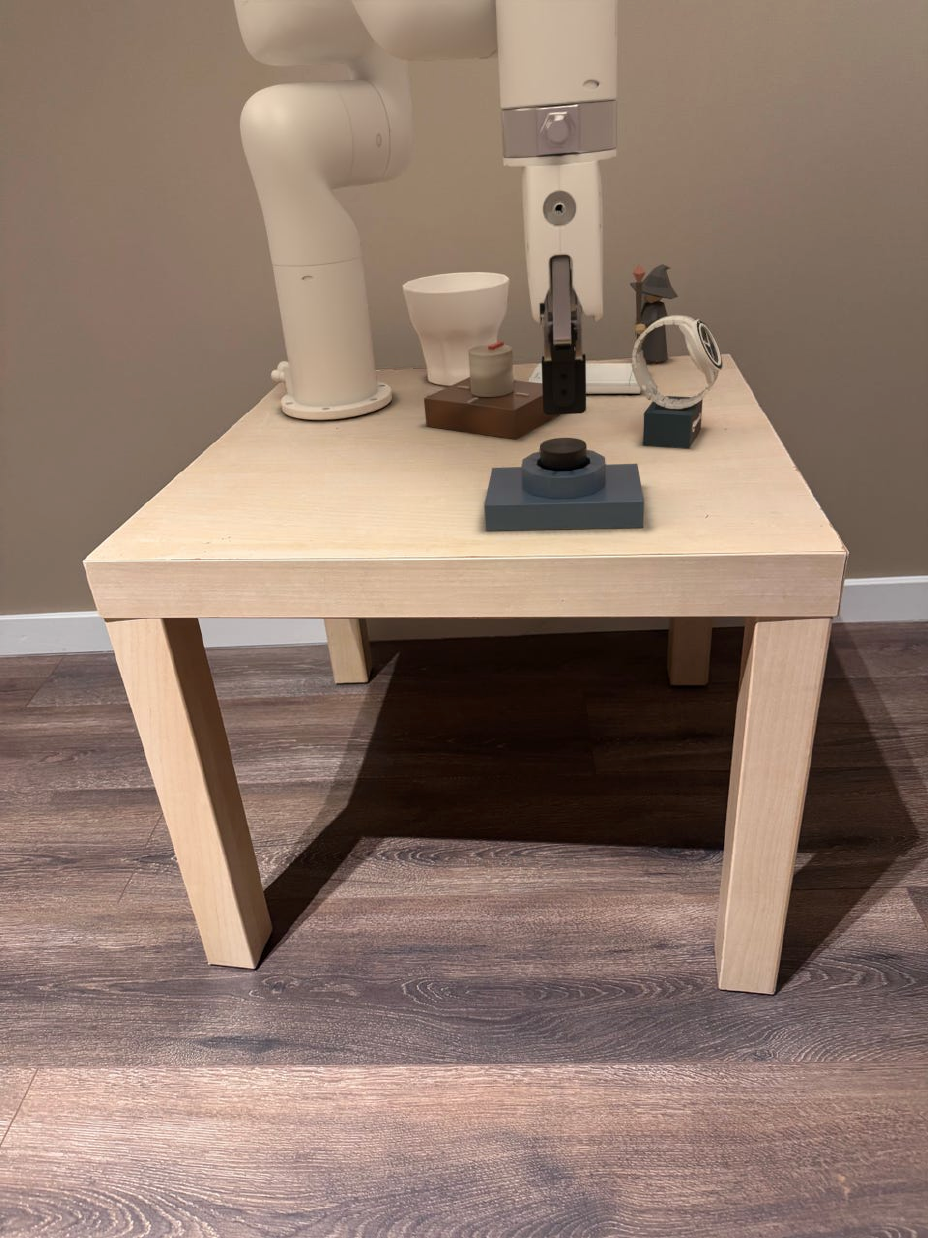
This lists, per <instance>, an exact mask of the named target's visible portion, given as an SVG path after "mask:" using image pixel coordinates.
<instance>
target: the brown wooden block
mask: <svg viewBox="0 0 928 1238" xmlns="http://www.w3.org/2000/svg"><path fill="white" fill-rule="evenodd" d="M513 380H514V391H513V392H512V393H510V394H507V395H503V396H498V397H479V396H475V395H473V394H472V393H471V383H470V377H469V378H467V379H464V380H462V381H460V382H458V383H456V384H453V385H451V386H446V387H445V388H442V389H441V390H438V391H436V392H433V393H432V394H430V395H427V396H425V397H423V402H424V414H425V416H424V417H425V425H426V427H429V428H434V429H435V428H436V429H443V430H450V431H456V432H461V433H462V432H463V433H467V434H468V433H469V434H476V435H483V436H488V437H496V438H503V439H509V440H518V439H520V438H522V437H523V436H525V435H527V434H529V433H530V432H532V431H534V430H536V429H538V428H539V427H541V426H542V425H544V424H546V423H547V422H550V421H551V420H553V419H554V418H556V417H558V416H560V415H561V414H557V415H547V414H545V413H544V412H543V390H542V383H535V382H528V381H524V380H517V379H515V378H513Z"/></svg>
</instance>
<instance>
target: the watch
mask: <svg viewBox="0 0 928 1238" xmlns="http://www.w3.org/2000/svg"><path fill="white" fill-rule="evenodd" d="M663 325H665V326H671V325H675V326H678V328H679V330H680V332H681V333H682V334H683V336H684V343H685V345H686V349H687V352H688V354H689V356H690V358H691V360H692V362H693V364H694V365H695V366H696V368H697V369H698V370H699V371H700V372H701V373H702V374H704V377H705V380H706V383H707V384H708V385H707V386H705V389H704V390H701V392H698V394H697V395H694V396H678V395H677V396H673V395H664V394H661V392H660V391H658V388H659V387H658V385H657V384H656V382H655V380H654V379H653V377H652V375H651V373H650V370H649V368H648V366H647V365H648V364H646V362H645V359H644V357H643V350H641V346H642V343H643V340H644V338H645V336H646V335H647V334H648V333H649V332H650V331H651V330H653V329H654V328H657V327H659V326H663ZM631 358H632V359H631V362H630V363H631V365H632V369H633V372H634V375H635V378H636V381H637V383H638V385H639V387H640V389H641V393H643V396H644V397H645V398H646V399H647V400H648V401H652V402H651V403H650V404H649V405H648V407H647V408H646V409H645V411H644V412H643V427H642V428H643V429H642V431H643V432H642V446H645V447H660V448H661V447H662V448H675V449H676V448H677V449H687V450H688V449H691V447H692V445H694V442H695V440H696V438H697V437H698V435H699V433H700V431H702V418H703V417H702V416H703V415H702V414H703V401H704V399H705V397H706V396H707V395H708V393H709V392H710V391H711V389H712V387H713V386H714V385H715V382H716V381H717V379H718V376H719V373H720V371H721V370H723V364H724V363H723V357H722V354H721V350H720V348H719V345H718V343H717V341H716V338H715V337H714V335H713V332H712V331H711V330H710V328H709V327H708V326H707V323H705V322H704V321H703V320H702V319H699V318H697V319H696V320H695V319H694V318H693V317H691V316H688V315H683V314H681V315H680V314H672V315H667V317H664V318H661V319H659V320H657V321H656V322H654V323H653V324H652V325H650V326H649V327H648V328H647V329H646V330H645V331H644V332H643V333H642V334H640V337H639V338H638V340H637V339H636V341H635V343H634V345H633V349H632V354H631Z"/></svg>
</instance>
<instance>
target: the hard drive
mask: <svg viewBox="0 0 928 1238" xmlns="http://www.w3.org/2000/svg"><path fill="white" fill-rule="evenodd" d="M527 382H535V383H542V363H537V365H536V367H535V369H534V370H533V372H532V374H531V375H530V377H529V379H528V380H527ZM641 393H642V390H641V389H640V387H639V385H638V383H637V381H636V378H635V375H634V372H633V369H632V365H631V362H629V363H628V362H624V363H623V362H622V363H619V362H617V363H616V362H615V363H614V362H613V363H610V362H609V363H606V362H605V363H602V362H601V363H599V362H597V363H596V362H595V363H593V362H592V363H587V362H586V395H627V394H628V395H629V394H630V395H640V394H641Z"/></svg>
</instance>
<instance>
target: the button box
mask: <svg viewBox="0 0 928 1238" xmlns="http://www.w3.org/2000/svg"><path fill="white" fill-rule="evenodd" d="M638 464H639V463H616V464H615V463H610V464H607V463H606V457H605V456H603V455H602V454H600V453H598V452H596V451H595V450H591V449H587V466H586V467H584V468H582V469H578V470H574V471H558V472H556V471H550V470H544V469H542V468H541V467H540V451H536V452H532V453H531V454H529V455H527V456H526V457H524V458H522V460H521V466H513V467H512V466H510V467H509V466H507V467H506V466H505V467H492V468H491V472H490V476H489V482H488V485H487V491H486V496H485V500H484V505H483V506H484V507H483V508H484V522H485V531H486V532H493V531H494V532H497V531H498V532H499V531H545V530H547V531H549V530H551V531H552V530H553V531H554V530H593V529H594V530H596V529H643V528H644V517H645V514H644V513H645V499H644V493H643V488H642V481H641V476H640V469H639V465H638Z"/></svg>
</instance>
